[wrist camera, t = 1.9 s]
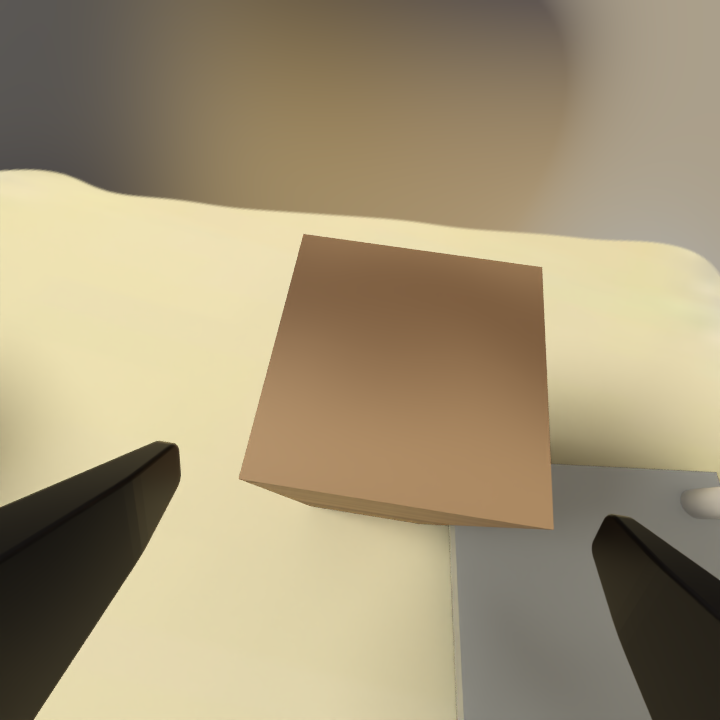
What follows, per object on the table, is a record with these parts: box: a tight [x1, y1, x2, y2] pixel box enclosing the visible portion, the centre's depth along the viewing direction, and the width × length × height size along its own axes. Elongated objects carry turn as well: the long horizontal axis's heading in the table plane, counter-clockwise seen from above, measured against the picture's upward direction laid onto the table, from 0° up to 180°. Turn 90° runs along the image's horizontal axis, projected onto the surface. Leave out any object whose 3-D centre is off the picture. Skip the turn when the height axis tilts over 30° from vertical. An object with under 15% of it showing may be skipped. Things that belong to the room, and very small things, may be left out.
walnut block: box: [239, 234, 554, 530], centre depth 12 cm, size 5×5×12 cm
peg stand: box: [449, 464, 720, 720], centre depth 14 cm, size 12×12×4 cm
